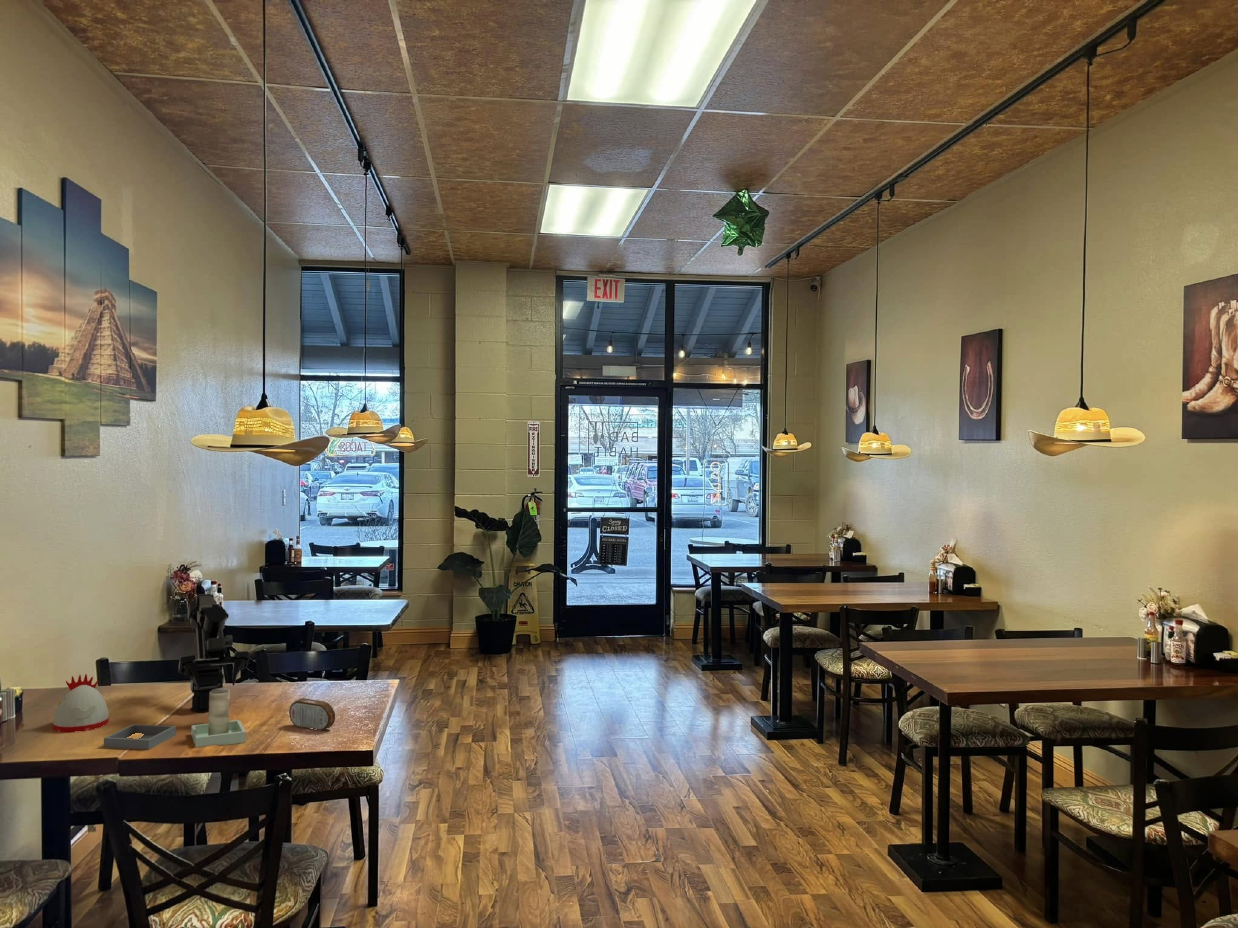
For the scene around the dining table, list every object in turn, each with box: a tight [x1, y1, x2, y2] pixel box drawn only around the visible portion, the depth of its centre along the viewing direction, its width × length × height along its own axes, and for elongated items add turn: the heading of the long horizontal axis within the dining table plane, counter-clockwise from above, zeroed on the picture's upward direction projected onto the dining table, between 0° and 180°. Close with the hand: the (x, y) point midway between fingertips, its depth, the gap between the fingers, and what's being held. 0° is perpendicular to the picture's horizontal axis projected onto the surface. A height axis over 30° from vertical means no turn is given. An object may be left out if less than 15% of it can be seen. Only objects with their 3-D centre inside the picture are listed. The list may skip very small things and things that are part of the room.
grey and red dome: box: [52, 673, 110, 733], centre depth 245 cm, size 14×14×15 cm
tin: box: [288, 697, 336, 731], centre depth 249 cm, size 15×3×8 cm, turn 71°
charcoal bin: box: [103, 723, 177, 751], centre depth 231 cm, size 13×13×3 cm
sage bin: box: [190, 719, 247, 748], centre depth 236 cm, size 13×13×3 cm
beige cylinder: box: [207, 687, 231, 736], centre depth 236 cm, size 5×5×13 cm
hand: (216, 686), depth 243 cm, fingers open, 9 cm apart
